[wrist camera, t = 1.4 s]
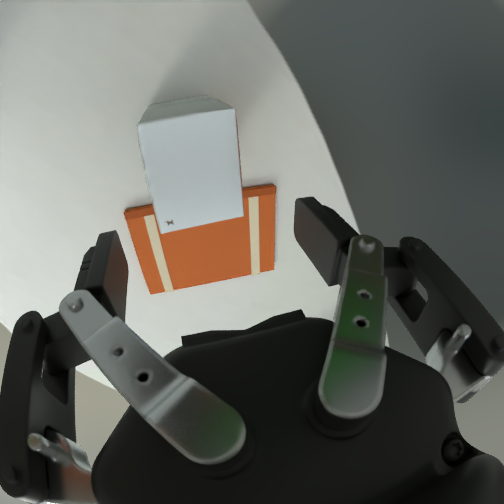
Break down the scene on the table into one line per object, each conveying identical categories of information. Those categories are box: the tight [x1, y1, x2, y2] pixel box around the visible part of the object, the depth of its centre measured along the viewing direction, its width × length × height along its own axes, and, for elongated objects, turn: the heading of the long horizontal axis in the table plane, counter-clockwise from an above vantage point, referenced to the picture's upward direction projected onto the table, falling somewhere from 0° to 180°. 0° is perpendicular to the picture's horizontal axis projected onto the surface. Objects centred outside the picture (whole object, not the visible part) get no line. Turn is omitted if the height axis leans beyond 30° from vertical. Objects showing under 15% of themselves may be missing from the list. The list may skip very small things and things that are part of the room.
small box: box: [137, 95, 244, 234], centre depth 23 cm, size 8×6×13 cm
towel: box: [124, 184, 276, 294], centre depth 36 cm, size 13×18×1 cm
